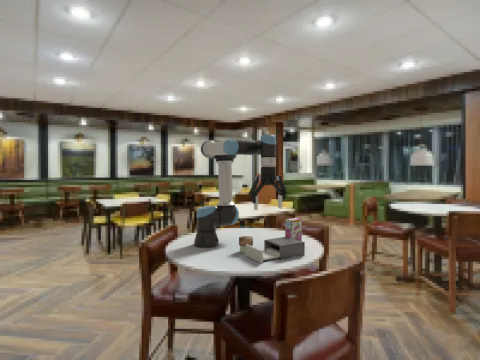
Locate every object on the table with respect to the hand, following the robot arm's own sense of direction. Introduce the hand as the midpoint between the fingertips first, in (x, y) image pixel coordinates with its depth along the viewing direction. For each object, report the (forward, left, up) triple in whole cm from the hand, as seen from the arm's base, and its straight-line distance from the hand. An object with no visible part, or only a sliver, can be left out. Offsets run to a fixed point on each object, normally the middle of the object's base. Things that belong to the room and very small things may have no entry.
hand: (268, 209), depth 145 cm
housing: (-7, +16, -27) cm, 32 cm away
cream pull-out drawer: (-7, +3, -26) cm, 28 cm away
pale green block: (-21, 0, -27) cm, 34 cm away
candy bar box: (-17, +31, -27) cm, 44 cm away
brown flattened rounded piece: (-21, 0, -23) cm, 31 cm away
